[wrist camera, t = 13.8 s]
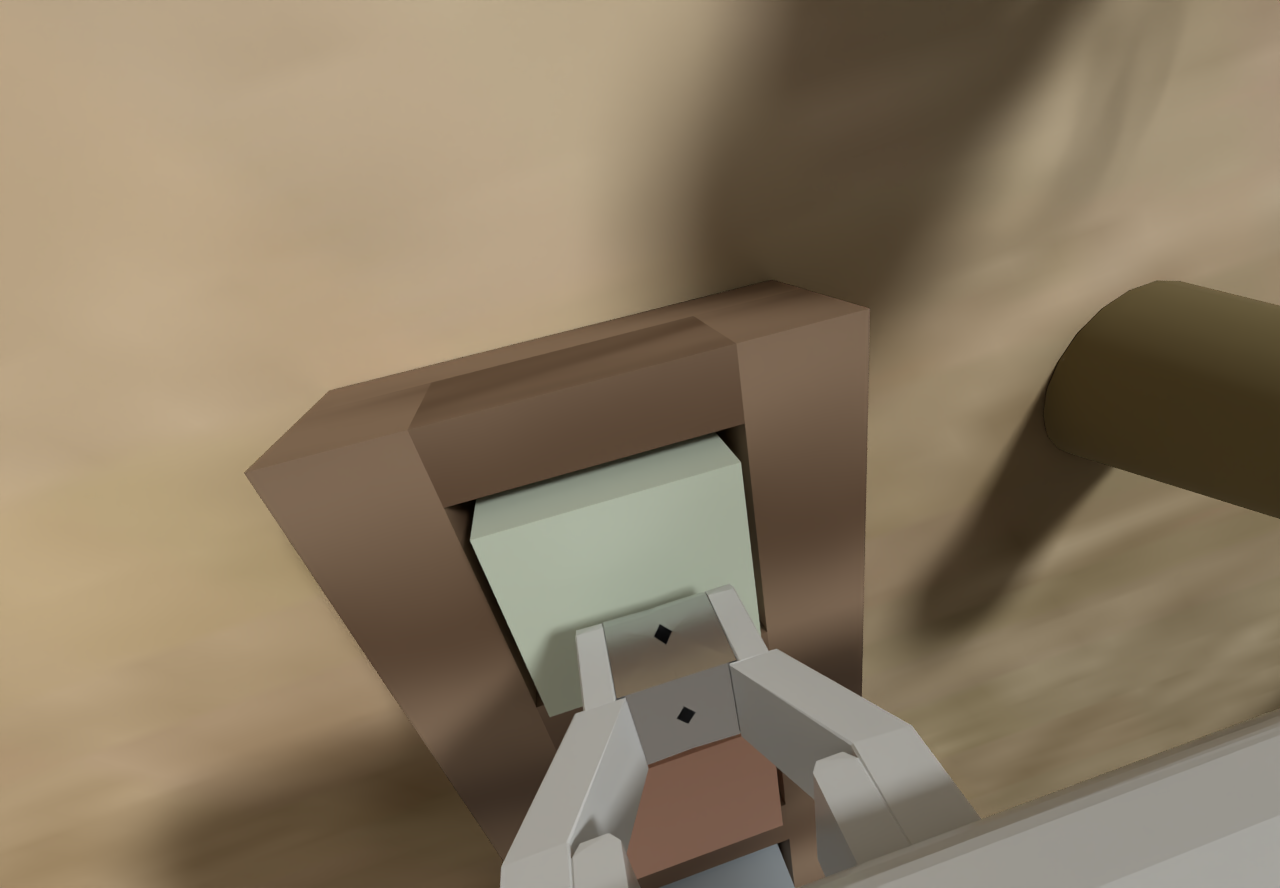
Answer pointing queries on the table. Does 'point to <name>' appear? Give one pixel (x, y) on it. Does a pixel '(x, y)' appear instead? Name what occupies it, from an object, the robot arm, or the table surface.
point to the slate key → (743, 873)
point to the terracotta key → (703, 804)
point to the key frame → (566, 442)
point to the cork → (1177, 392)
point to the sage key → (612, 549)
